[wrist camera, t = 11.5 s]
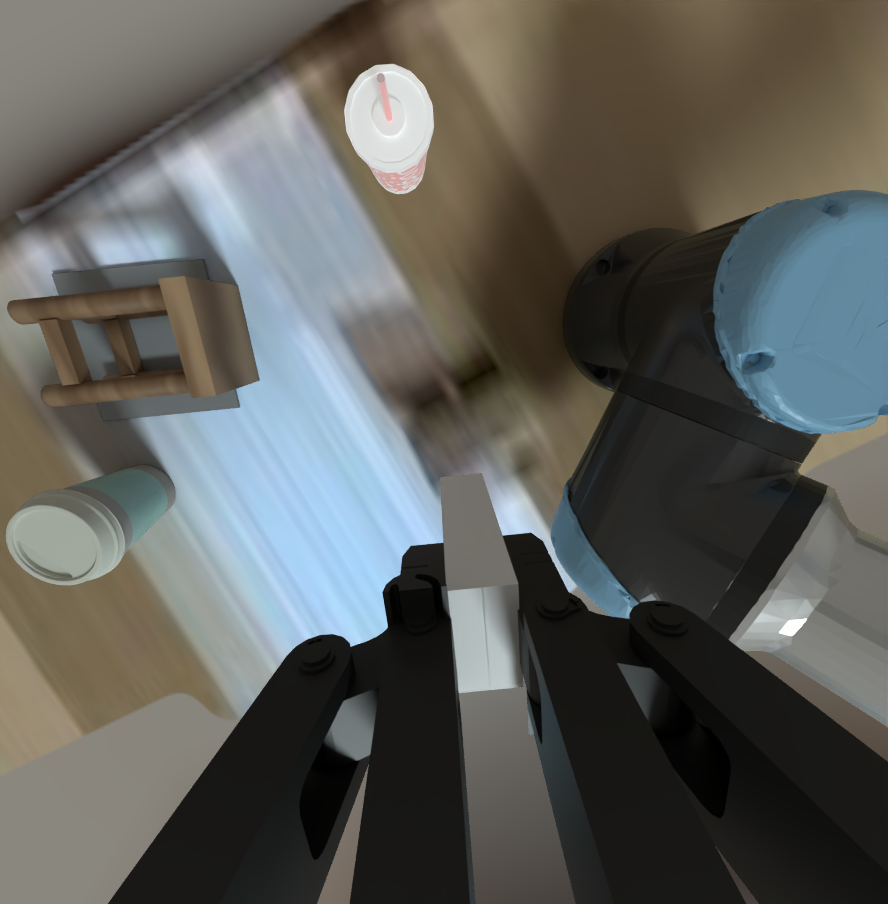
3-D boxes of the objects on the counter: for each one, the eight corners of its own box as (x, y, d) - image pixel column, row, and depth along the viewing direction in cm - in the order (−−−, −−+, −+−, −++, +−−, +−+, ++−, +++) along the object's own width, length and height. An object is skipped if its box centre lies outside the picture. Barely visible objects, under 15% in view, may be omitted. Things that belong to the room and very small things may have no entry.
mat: (203, 259, 39) (202, 258, 39) (240, 407, 43) (238, 407, 43) (54, 274, 39) (51, 274, 39) (105, 420, 43) (102, 421, 43)
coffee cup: (92, 462, 45) (-24, 511, 33) (168, 444, 44) (77, 487, 33) (129, 532, 47) (32, 600, 36) (201, 515, 47) (126, 579, 35)
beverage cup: (376, 212, 38) (346, 154, 25) (354, 135, 36) (310, 28, 23) (441, 193, 38) (446, 124, 25) (422, 114, 36) (417, -6, 23)
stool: (184, 276, 31) (-3, 295, 31) (216, 395, 34) (44, 413, 34) (237, 285, 40) (91, 300, 40) (259, 380, 42) (122, 394, 43)
